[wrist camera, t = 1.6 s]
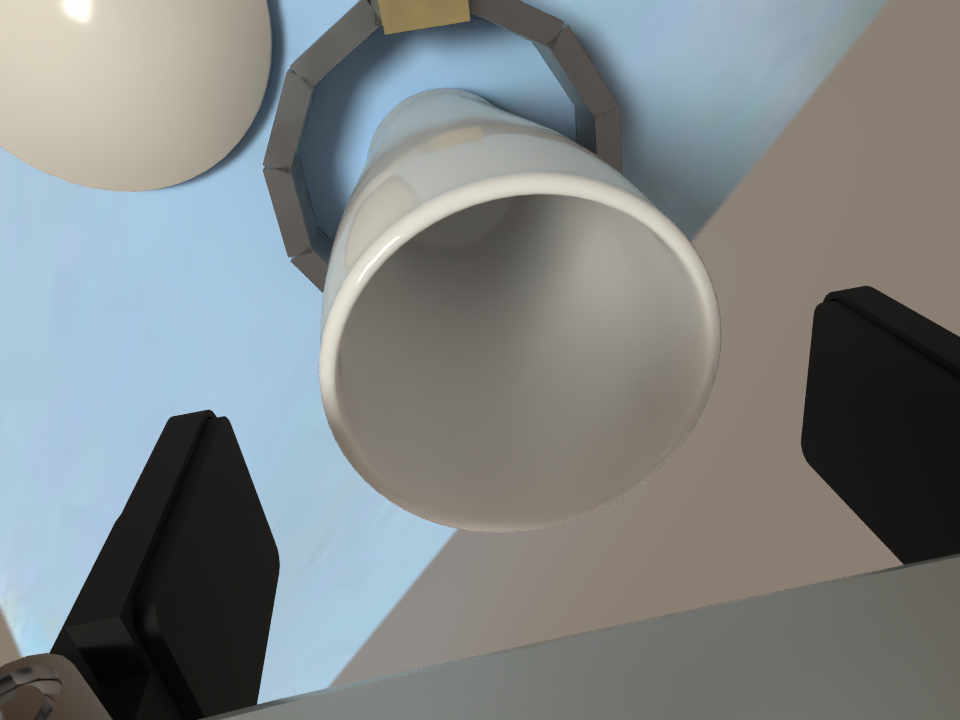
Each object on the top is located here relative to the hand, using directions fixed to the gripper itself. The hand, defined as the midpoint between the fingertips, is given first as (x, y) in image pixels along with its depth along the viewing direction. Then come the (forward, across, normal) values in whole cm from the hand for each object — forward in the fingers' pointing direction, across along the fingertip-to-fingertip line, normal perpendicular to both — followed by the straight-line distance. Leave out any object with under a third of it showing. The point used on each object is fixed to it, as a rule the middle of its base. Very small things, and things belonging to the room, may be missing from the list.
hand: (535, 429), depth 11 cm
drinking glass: (+16, 0, -1) cm, 16 cm away
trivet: (+15, +9, -7) cm, 19 cm away
